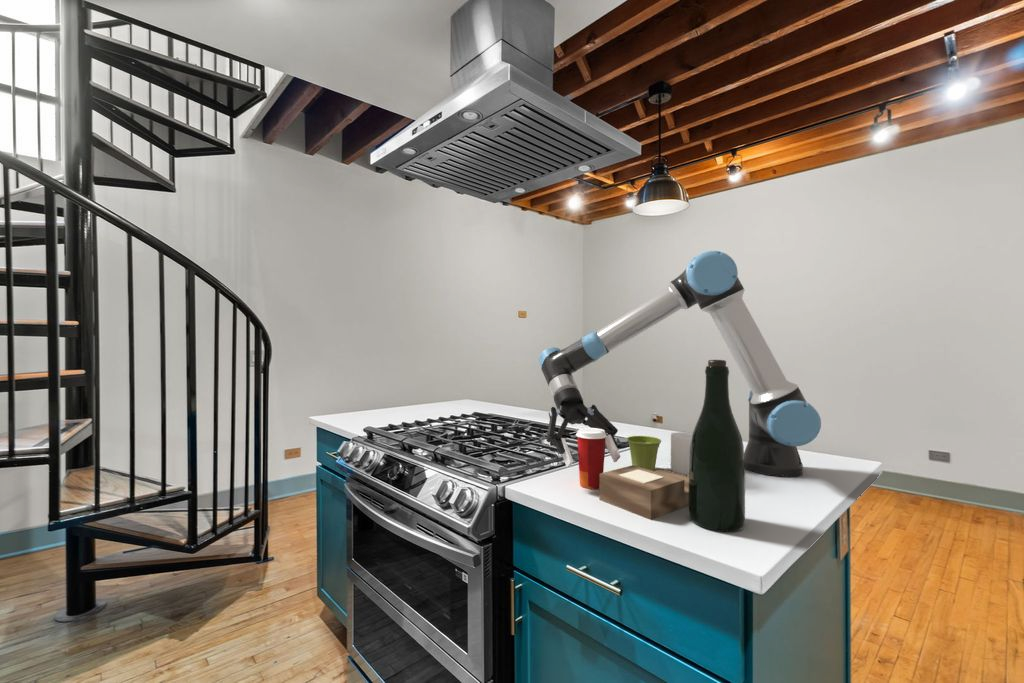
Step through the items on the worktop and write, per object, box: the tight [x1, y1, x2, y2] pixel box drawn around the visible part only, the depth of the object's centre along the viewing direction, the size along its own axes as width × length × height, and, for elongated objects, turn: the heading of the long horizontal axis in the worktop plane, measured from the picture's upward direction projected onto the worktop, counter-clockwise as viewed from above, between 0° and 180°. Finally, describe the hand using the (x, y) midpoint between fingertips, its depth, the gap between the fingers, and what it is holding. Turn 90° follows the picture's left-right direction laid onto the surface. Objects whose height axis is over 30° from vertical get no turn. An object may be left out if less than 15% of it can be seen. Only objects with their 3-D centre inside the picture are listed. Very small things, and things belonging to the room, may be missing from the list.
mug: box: [670, 431, 693, 476], centre depth 123 cm, size 12×8×10 cm
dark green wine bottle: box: [687, 359, 746, 532], centre depth 90 cm, size 10×10×33 cm
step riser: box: [598, 464, 689, 520], centre depth 104 cm, size 24×14×6 cm, turn 126°
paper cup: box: [575, 427, 607, 490], centre depth 112 cm, size 8×8×14 cm
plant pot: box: [626, 435, 662, 471], centre depth 126 cm, size 9×9×9 cm
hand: (594, 461), depth 111 cm, fingers open, 13 cm apart
